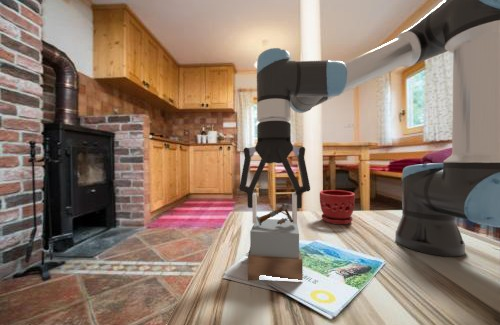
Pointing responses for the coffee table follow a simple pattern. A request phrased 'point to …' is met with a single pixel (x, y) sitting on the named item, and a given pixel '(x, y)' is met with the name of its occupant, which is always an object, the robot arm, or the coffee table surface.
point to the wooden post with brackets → (284, 207)
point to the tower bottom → (274, 267)
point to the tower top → (274, 239)
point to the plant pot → (337, 206)
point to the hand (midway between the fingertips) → (274, 222)
